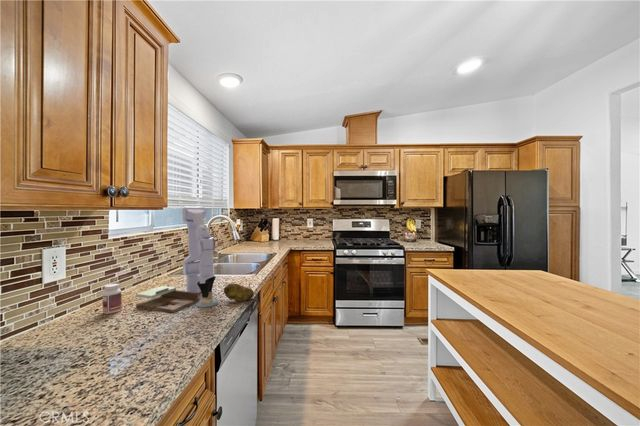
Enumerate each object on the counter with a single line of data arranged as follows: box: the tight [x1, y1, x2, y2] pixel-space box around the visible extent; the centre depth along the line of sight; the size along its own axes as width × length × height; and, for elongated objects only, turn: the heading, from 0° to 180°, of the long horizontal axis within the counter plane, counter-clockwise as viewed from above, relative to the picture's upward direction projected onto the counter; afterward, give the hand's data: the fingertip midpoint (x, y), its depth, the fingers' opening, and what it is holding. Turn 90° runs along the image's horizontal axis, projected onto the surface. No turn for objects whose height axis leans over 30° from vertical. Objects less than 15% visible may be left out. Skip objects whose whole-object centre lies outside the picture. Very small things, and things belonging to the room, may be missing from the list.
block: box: [200, 291, 214, 304], centre depth 116 cm, size 4×4×4 cm
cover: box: [135, 285, 177, 300], centre depth 118 cm, size 12×9×2 cm
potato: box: [223, 282, 255, 302], centre depth 121 cm, size 8×13×8 cm, turn 92°
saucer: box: [195, 298, 219, 309], centre depth 117 cm, size 9×9×1 cm
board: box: [135, 289, 200, 314], centre depth 117 cm, size 14×21×4 cm, turn 71°
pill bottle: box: [102, 283, 123, 315], centre depth 109 cm, size 6×6×11 cm
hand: (207, 295), depth 116 cm, fingers open, 5 cm apart
